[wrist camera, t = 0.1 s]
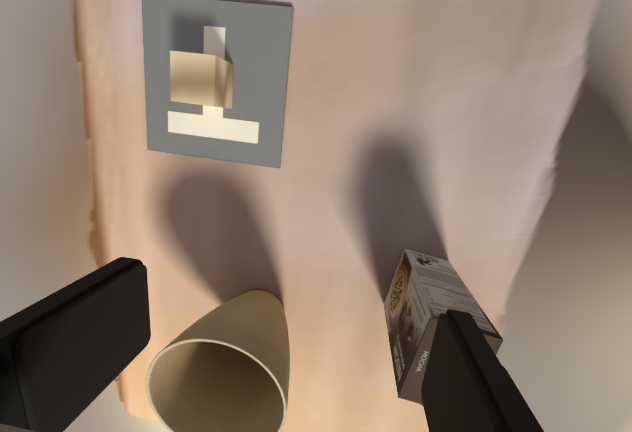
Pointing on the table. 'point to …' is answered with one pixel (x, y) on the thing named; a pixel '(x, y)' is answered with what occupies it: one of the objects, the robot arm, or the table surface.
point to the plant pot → (225, 370)
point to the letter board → (248, 79)
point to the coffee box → (425, 315)
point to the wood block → (201, 79)
